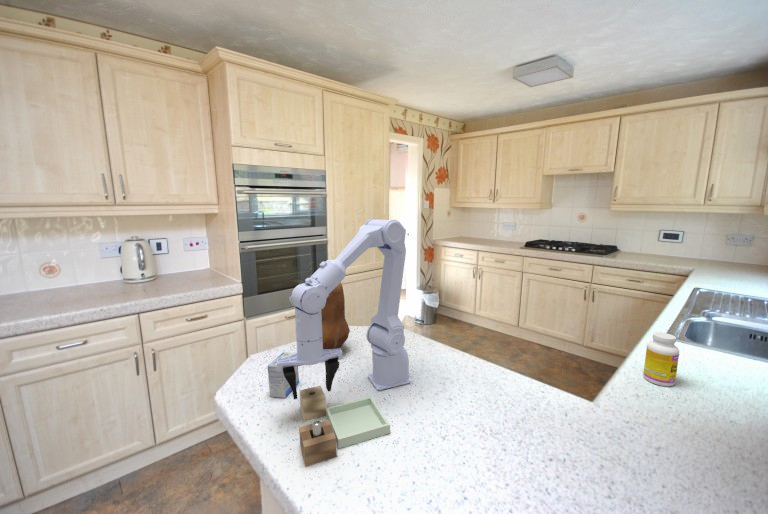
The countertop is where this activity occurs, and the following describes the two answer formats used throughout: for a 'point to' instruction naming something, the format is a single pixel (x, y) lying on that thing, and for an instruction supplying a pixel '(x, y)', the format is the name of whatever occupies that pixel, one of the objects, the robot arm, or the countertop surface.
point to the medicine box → (280, 378)
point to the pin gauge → (316, 429)
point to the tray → (357, 421)
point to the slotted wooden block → (317, 443)
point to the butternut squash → (334, 320)
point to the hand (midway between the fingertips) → (312, 392)
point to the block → (312, 403)
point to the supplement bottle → (661, 360)
